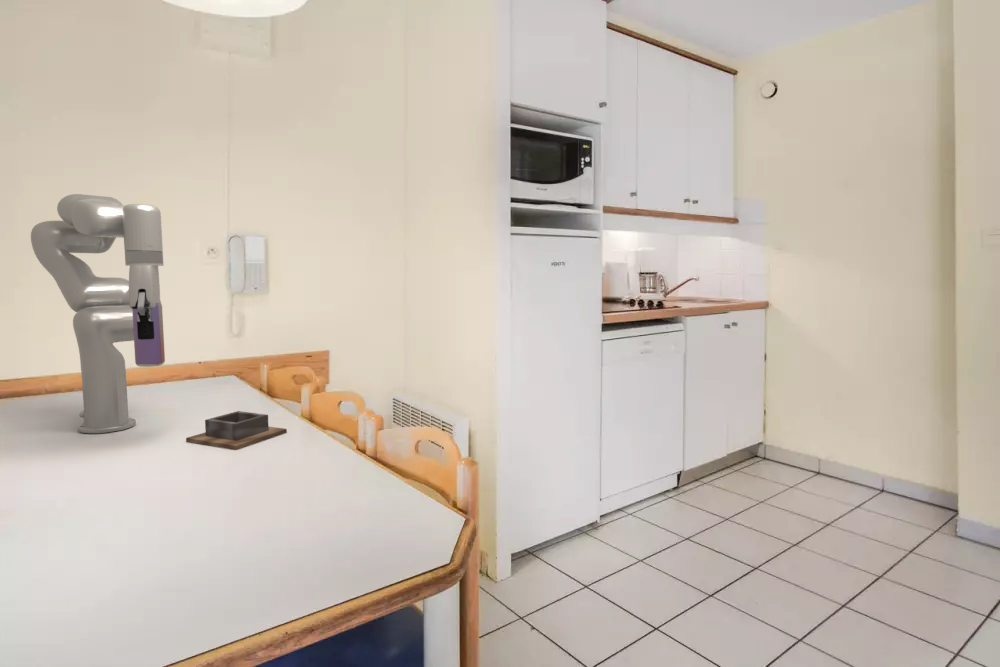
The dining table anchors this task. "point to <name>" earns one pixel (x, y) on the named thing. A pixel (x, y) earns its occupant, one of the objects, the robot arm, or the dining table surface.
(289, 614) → the dining table surface
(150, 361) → the beverage can
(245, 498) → the dining table surface
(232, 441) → the can holder
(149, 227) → the robot arm
